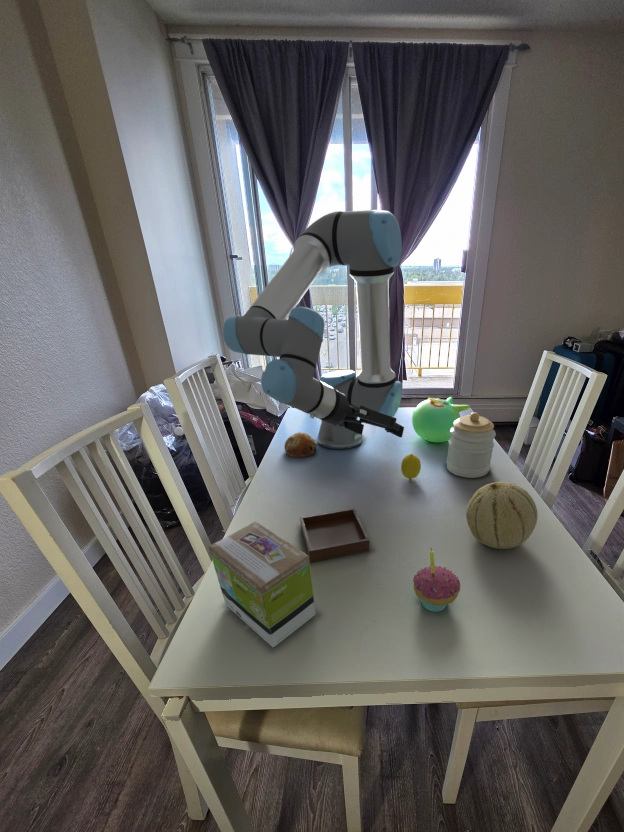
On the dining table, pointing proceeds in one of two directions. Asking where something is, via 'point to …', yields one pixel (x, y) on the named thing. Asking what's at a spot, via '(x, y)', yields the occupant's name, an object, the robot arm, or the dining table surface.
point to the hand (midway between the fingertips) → (381, 431)
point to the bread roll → (300, 445)
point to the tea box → (264, 581)
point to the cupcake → (436, 586)
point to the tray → (334, 534)
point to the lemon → (410, 466)
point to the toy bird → (436, 418)
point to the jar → (470, 446)
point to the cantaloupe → (501, 515)
